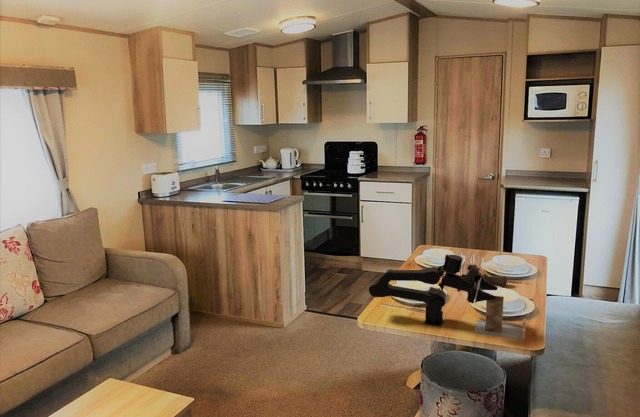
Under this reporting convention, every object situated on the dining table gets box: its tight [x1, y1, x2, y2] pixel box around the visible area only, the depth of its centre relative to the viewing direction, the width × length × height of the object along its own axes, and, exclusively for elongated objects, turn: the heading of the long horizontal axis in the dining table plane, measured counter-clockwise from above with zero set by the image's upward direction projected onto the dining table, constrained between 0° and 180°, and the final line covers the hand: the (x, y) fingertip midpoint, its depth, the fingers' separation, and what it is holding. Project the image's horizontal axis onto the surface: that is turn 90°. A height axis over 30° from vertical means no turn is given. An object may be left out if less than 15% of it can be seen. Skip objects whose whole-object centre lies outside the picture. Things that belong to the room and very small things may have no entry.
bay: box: [473, 318, 527, 341], centre depth 205 cm, size 19×12×4 cm, turn 67°
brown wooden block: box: [485, 295, 505, 333], centre depth 205 cm, size 6×6×13 cm
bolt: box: [481, 273, 508, 288], centre depth 257 cm, size 6×5×15 cm
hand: (496, 293), depth 203 cm, fingers open, 9 cm apart
